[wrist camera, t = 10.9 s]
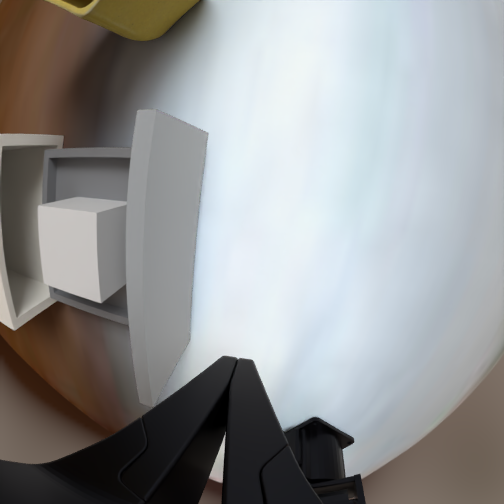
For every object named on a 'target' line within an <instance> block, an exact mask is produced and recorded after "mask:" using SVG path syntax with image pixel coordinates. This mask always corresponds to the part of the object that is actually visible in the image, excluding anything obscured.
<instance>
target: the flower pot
mask: <svg viewBox="0 0 504 504" xmlns="http://www.w3.org/2000/svg"><path fill="white" fill-rule="evenodd" d="M44 1H47V2H50V3H52V4H54V5H56V6H58V7H60V8H63V9H65V10H67V11H69V12H70V13H72V14H74V15H76V16H77V17H79V18H82V19H84V20H87V21H90V22H92V23H94V24H97V25H99V26H101V27H103V28H105V29H108V30H110V31H112V32H114V33H116V34H118V35H121V36H123V37H125V38H128V39H132V40H137V41H149V40H153V39H156V38H159V37H160V36H162V35H163V34H164V33H165V32H166V31H167V30H168V29H169V28H170V27H171V26H172V25H173V24H174V23H175V22H176V21H177V20H178V19H180V18H181V17H182V16H183V15H184V14H185V13H186V12H187V11H188V10H189V9H190V8H191V7H193V6H194V5H195V4H196V3H197V2H198V1H200V0H44Z"/></svg>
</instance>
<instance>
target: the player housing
mask: <svg viewBox="0 0 504 504" xmlns="http://www.w3.org/2000/svg"><path fill="white" fill-rule="evenodd" d="M63 140H64V136H60V135H40V134H0V322H2V323H3V324H5V325H6V326H8V327H9V328H11V329H13V330H14V331H15V330H16V329H18V328H19V327H20V326H22V325H23V324H25V323H26V322H27V321H29V320H30V319H32V318H33V317H34V316H36V315H37V314H39V313H40V312H42V311H43V310H45V309H46V308H47V307H49V306H50V305H52V304H53V303H55V302H56V301H57V300H55V299H52V298H50V292H49V286H48V285H46V284H44V279H43V272H42V264H41V255H40V245H39V231H38V205H42V183H43V164H44V152H45V150H50V149H63Z"/></svg>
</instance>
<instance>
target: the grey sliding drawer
mask: <svg viewBox="0 0 504 504" xmlns="http://www.w3.org/2000/svg"><path fill="white" fill-rule="evenodd" d="M207 140H208V133H207V132H205V131H203V130H201V129H199V128H197V127H195V126H193V125H190V124H188V123H186V122H184V121H182V120H180V119H177V118H175V117H173V116H171V115H168V114H166V113H164V112H162V111H159V110H157V109H148V110H137V115H136V121H135V128H134V134H133V142H132V148H131V147H95V148H67V149H50V150H45V152H44V164H43V183H42V204H46V203H51V202H55V201H60V200H65V199H69V198H74V197H85V198H96V199H106V200H115V201H125V202H127V210H126V284H125V285H124V286H123V287H121V288H120V289H119V290H117V291H116V292H115V293H114V294H112V295H111V296H110V297H108V298H107V299H106V300H105V301H103V302H102V303H99V302H95V301H92V300H89V299H86V298H83V297H80V296H77V295H74V294H71V293H68V292H65V291H63V290H60V289H57V288H54V287H52V286H49V285H48V286H49V292H50V298H52V299H55V300H57V301H60V302H62V303H65V304H67V305H70V306H73V307H75V308H78V309H81V310H83V311H86V312H89V313H92V314H95V315H97V316H100V317H103V318H106V319H109V320H112V321H115V322H119V323H122V324H125V325H128V326H129V331H130V341H131V350H132V358H133V365H134V372H135V379H136V385H137V391H138V396H139V402H140V403H141V404H144V405H146V406H149V407H152V408H153V407H154V405H155V403H156V401H157V399H158V398H159V396H160V394H161V392H162V390H163V388H164V387H165V385H166V383H167V381H168V379H169V377H170V376H171V374H172V372H173V370H174V368H175V366H176V365H177V363H178V361H179V359H180V357H181V355H182V354H183V352H184V350H185V348H186V346H187V345H188V343H189V341H190V324H191V303H192V286H193V271H194V258H195V245H196V234H197V223H198V213H199V204H200V195H201V186H202V178H203V170H204V162H205V154H206V147H207Z"/></svg>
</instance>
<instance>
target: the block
mask: <svg viewBox="0 0 504 504" xmlns="http://www.w3.org/2000/svg"><path fill="white" fill-rule="evenodd" d="M126 210H127V202H125V201H115V200H106V199H96V198H85V197H74V198H69V199H65V200H60V201H55V202H51V203H46V204H42V205H38V231H39V245H40V255H41V264H42V272H43V279H44V284H46V285H49V286H52V287H54V288H57V289H60V290H63V291H65V292H68V293H71V294H74V295H77V296H80V297H83V298H86V299H89V300H92V301H95V302H99V303H102V302H103V301H105V300H106V299H107V298H108V297H110V296H111V295H112V294H114V293H115V292H116V291H117V290H119V289H120V288H121V287H123V286H124V285H125V284H126Z"/></svg>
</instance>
